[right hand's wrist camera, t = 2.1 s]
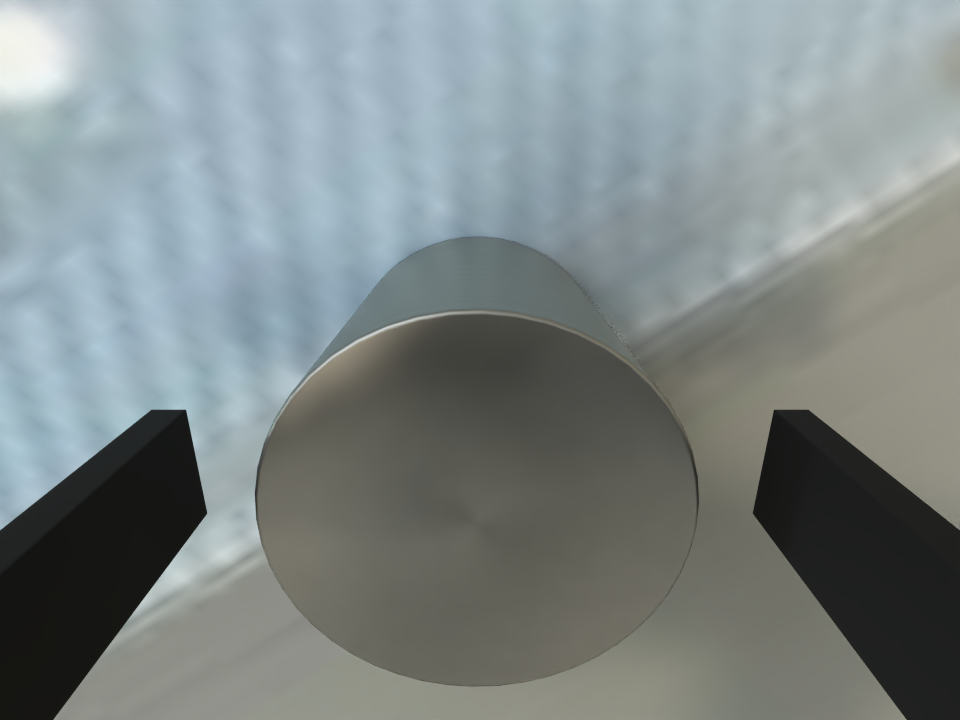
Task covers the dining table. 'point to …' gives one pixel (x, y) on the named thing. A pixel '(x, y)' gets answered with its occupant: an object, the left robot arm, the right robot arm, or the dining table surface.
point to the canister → (476, 475)
